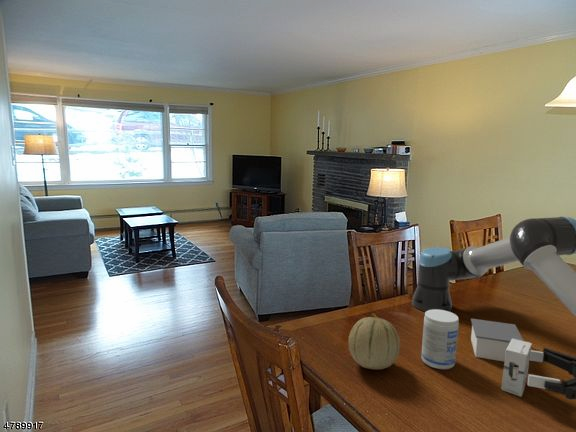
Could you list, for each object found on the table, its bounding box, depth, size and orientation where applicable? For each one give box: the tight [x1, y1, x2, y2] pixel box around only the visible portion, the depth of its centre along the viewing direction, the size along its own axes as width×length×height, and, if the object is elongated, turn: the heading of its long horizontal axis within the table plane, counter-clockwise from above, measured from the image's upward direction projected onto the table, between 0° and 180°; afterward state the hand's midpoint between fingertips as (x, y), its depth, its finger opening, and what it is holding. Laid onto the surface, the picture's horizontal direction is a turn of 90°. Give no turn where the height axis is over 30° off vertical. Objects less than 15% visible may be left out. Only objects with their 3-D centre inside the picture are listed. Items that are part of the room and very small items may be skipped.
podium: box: [470, 318, 524, 363], centre depth 123 cm, size 13×13×7 cm
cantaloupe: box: [348, 313, 401, 370], centre depth 112 cm, size 15×15×15 cm
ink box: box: [501, 338, 532, 397], centre depth 104 cm, size 9×5×12 cm, turn 141°
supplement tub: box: [420, 309, 460, 370], centre depth 115 cm, size 10×10×15 cm
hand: (521, 365), depth 103 cm, fingers open, 13 cm apart
